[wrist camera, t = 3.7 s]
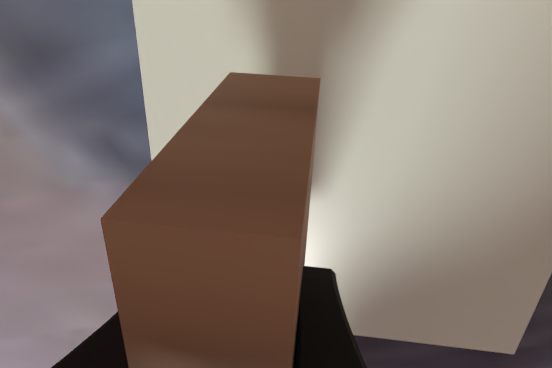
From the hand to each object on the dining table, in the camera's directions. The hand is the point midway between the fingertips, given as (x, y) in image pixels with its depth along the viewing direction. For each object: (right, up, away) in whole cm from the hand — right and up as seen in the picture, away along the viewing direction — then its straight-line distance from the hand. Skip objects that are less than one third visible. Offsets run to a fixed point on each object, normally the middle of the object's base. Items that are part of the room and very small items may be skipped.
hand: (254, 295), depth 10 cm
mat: (+3, +4, +5) cm, 7 cm away
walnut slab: (0, +1, +2) cm, 2 cm away
